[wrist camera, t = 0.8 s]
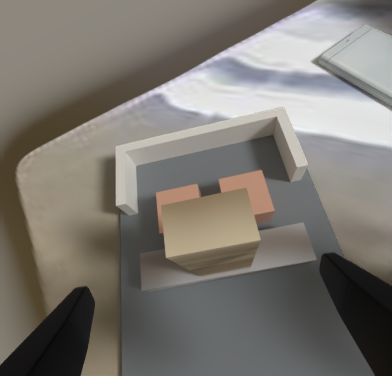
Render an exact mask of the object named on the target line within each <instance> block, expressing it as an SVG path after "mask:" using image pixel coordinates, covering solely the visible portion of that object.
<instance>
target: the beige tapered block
mask: <svg viewBox="0 0 392 376" xmlns="http://www.w3.org/2000/svg"><path fill="white" fill-rule="evenodd" d="M161 210H162V221H163V232H164V243H165V249H162V250H157V251H152V252H146V253H141V254H140V267H141V289H142V291H150V292H152V291H158V290H164V289H169V288H175V287H181V286H186V285H192V284H198V283H203V282H209V281H215V280H220V279H226V278H232V277H237V276H243V275H249V274H254V273H260V272H266V271H271V270H277V269H283V268H288V267H294V266H300V265H305V264H309V263H312V262H314V261H316V260H317V258H316V255H315V253H314V250H313V247H312V244H311V242H310V239H309V236H308V234H307V231H306V228H305V225H304V223H297V224H292V225H287V226H282V227H277V228H271V229H266V230H261V231H258V228H257V224H256V221H255V217H254V213H253V210H252V206H251V202H250V199H249V195H248V191H247V188H242V189H237V190H233V191H228V192H223V193H218V194H213V195H209V196H204V197H199V198H194V199H189V200H185V201H180V202H175V203H170V204H166V205H161Z"/></svg>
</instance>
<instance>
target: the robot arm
mask: <svg viewBox="0 0 392 376" xmlns="http://www.w3.org/2000/svg"><path fill="white" fill-rule="evenodd" d="M319 272H320V275H321V277H322V279H323V282H324V284H325V286H326V288H327V290H328V292H329V295H330V297H331V299H332V301H333V303H334V305H335V307H336V310H337V312H338V314H339V315H340V317H341V319H342V321H343V322H344V324H345V326H346V328H347V329H348V331H349V333H350V334H351V336H352V338H353V339H354V341H355V343H356V345H357V346H358V348H359V350H360V351H361V353H362V355H363V356H364V358H365V360H366V362H367V363H368V365H369V367H370V368H371V370H372V372H373V373H374V375H375V376H392V286H391V285H389V284H388V283H386V282H384V281H383V280H381V279H379V278H377V277H376V276H374V275H372V274H371V273H369V272H367V271H366V270H364V269H362V268H360V267H359V266H357V265H355V264H354V263H352V262H350V261H349V260H347V259H345V258H343V257H342V256H340V255H338V254H337V253H334V252H329V253H323V254H322V256H321V261H320V266H319ZM94 307H95V301H94V298H93V296H92V294H91V292H90V290H89V288H88V287H87V286H83V287H77V288H75V289H74V290H73V291H72V292H71V293H70V294H69V295H68V296H67V297H66V298H65V299H64V300H63V301H62V302H61V303H60V304H59V305H58V306H57V307H56V308H55V309H54V310H53V311H52V312H51V313H50V314H49V315H48V316H47V317H46V319H45V320H44V321H43V322H42V323H41V324H40V325H39V326H38V327H37V328H36V329H35V330H34V331H33V332H32V333H31V334H30V335H29V336H28V337H27V338H26V339H25V340H24V341H23V342H22V343H21V344H20V345H19V347H17V348H16V349H15V351H14V352H13V353H12V354H11V355H10V356H9V357H8V358H7V359H6V360H5V361H4V362H3V363H2V364H1V365H0V376H81V372H82V368H83V364H84V361H85V357H86V353H87V349H88V344H89V338H90V332H91V326H92V320H93V314H94Z"/></svg>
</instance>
